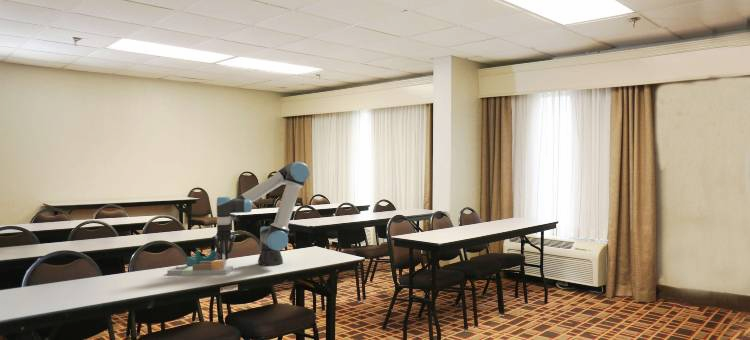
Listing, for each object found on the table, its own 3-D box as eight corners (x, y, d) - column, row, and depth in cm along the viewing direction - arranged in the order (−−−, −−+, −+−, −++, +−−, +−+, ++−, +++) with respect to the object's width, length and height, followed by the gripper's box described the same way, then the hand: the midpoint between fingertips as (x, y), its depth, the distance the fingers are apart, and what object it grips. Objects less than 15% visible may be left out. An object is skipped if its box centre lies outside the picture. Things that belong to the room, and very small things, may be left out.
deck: (232, 270, 307) (232, 260, 306) (226, 274, 295) (225, 264, 294) (176, 270, 308) (176, 261, 308) (167, 275, 296) (167, 265, 296)
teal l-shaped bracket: (214, 268, 316) (215, 251, 316) (196, 269, 309) (197, 251, 310) (203, 264, 330) (205, 247, 331) (186, 265, 324) (187, 248, 324)
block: (225, 267, 304) (225, 260, 304) (221, 269, 298) (221, 262, 298) (214, 267, 304) (214, 260, 304) (211, 269, 298) (211, 262, 298)
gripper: (237, 223, 304) (237, 264, 304) (214, 223, 304) (215, 264, 305) (233, 224, 296) (233, 266, 296) (210, 224, 297) (210, 266, 297)
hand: (224, 265), depth 300 cm, fingers closed
